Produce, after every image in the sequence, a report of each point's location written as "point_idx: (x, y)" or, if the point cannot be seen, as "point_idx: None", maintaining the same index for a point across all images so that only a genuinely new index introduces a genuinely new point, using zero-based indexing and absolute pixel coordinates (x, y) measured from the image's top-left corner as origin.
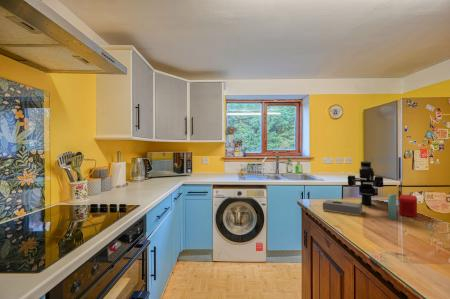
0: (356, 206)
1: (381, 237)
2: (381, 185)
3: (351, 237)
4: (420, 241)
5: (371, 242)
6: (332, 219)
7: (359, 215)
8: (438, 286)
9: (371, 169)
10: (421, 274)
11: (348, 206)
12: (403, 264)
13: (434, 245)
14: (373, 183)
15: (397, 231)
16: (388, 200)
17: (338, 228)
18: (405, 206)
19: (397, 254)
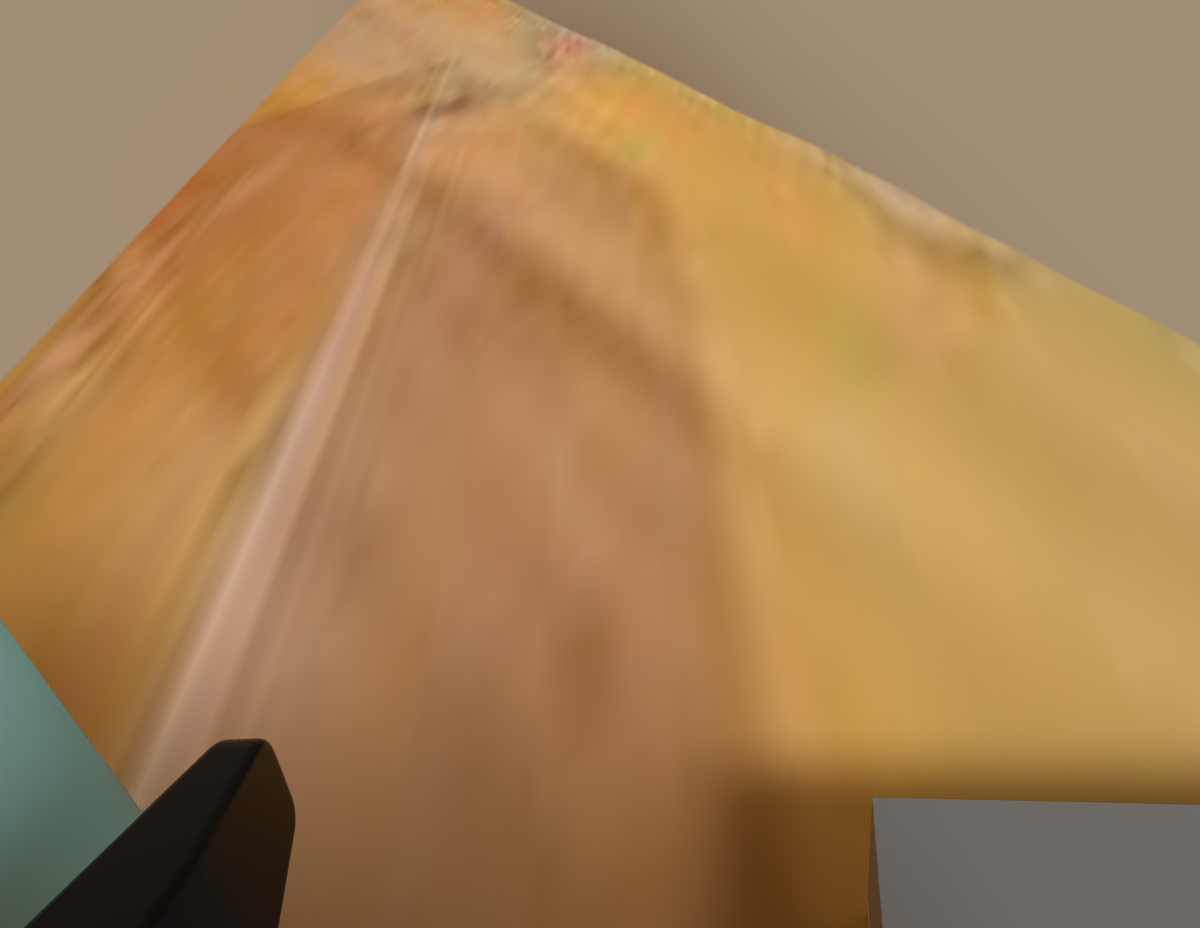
0: (979, 885)
1: (519, 235)
2: None
3: (748, 141)
4: (217, 305)
5: (598, 143)
6: (1158, 420)
7: (867, 907)
8: (369, 6)
9: None
10: (399, 30)
11: (1174, 810)
12: (452, 49)
13: (146, 288)
14: (182, 819)
15: (333, 421)
16: (80, 749)
17: (920, 223)
18: None
19: (457, 100)
